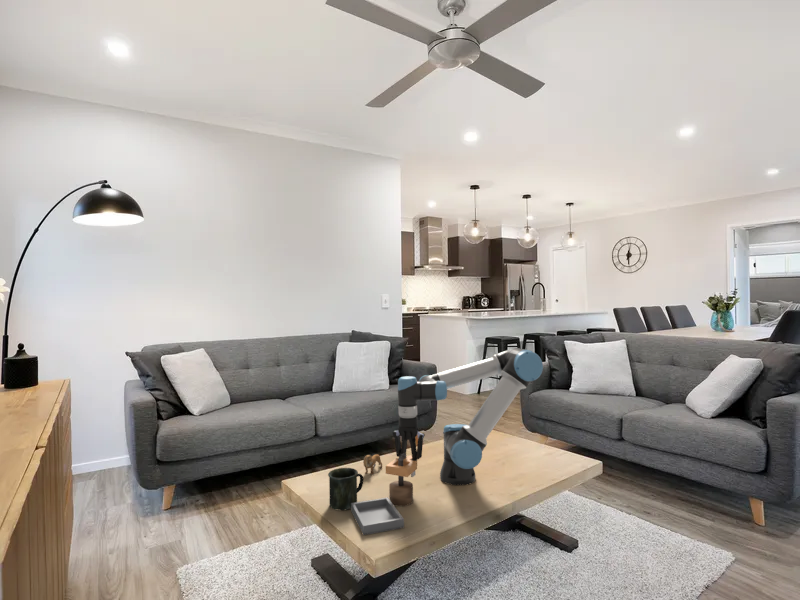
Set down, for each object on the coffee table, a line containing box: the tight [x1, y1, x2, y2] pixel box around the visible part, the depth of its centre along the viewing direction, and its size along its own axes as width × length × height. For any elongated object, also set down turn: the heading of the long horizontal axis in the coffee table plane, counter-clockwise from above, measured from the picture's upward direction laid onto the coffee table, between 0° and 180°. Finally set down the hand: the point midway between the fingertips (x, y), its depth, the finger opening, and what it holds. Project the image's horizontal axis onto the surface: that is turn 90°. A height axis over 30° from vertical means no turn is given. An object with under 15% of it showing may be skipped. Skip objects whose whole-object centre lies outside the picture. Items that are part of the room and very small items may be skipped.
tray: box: [350, 497, 405, 536], centre depth 153 cm, size 14×18×3 cm
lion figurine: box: [363, 453, 383, 475], centre depth 199 cm, size 15×5×9 cm, turn 160°
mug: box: [327, 467, 364, 511], centre depth 166 cm, size 11×15×12 cm
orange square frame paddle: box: [385, 455, 418, 478], centre depth 171 cm, size 14×9×3 cm, turn 154°
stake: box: [388, 453, 414, 507], centre depth 168 cm, size 9×9×18 cm
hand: (409, 475), depth 175 cm, fingers closed on orange square frame paddle, 3 cm apart
